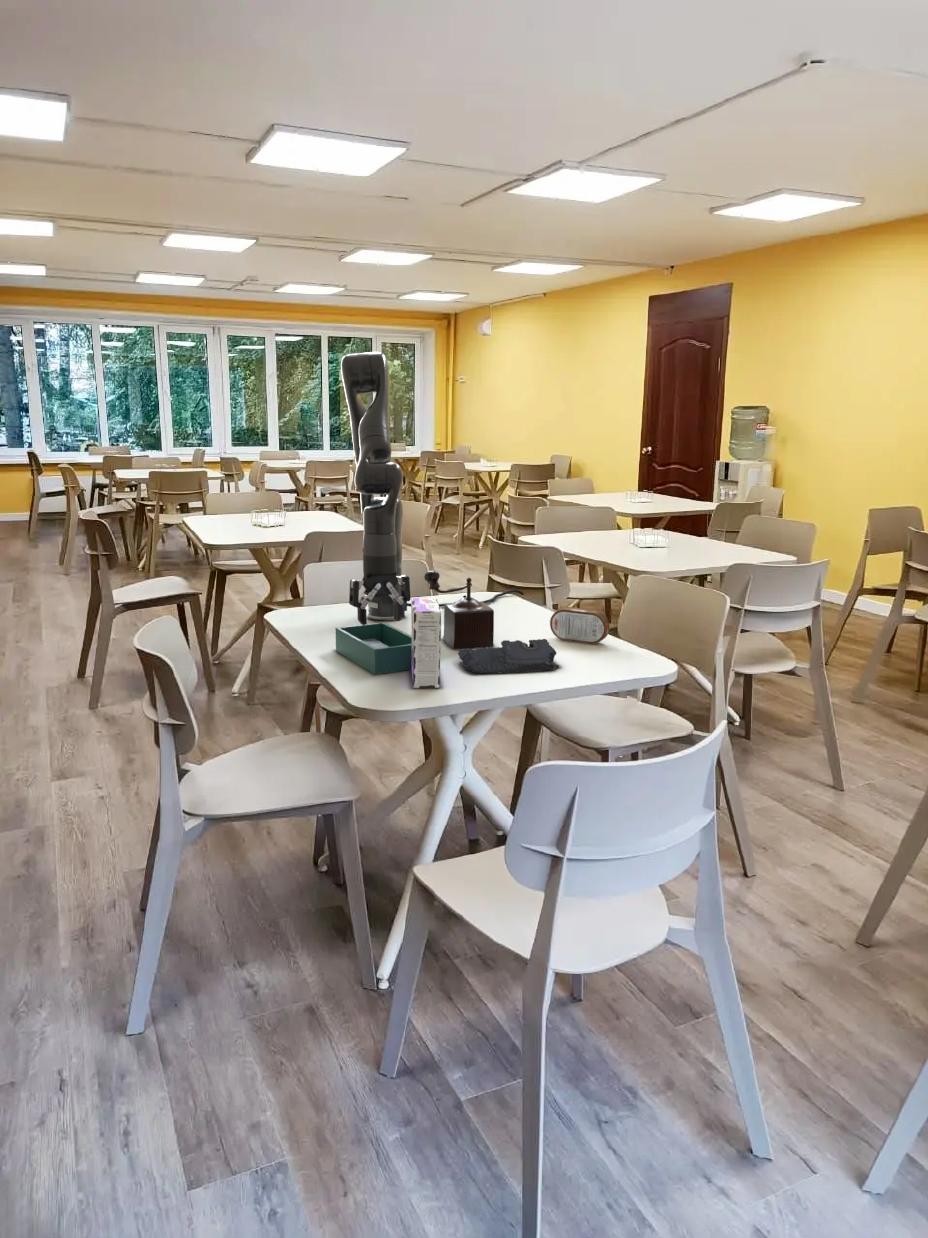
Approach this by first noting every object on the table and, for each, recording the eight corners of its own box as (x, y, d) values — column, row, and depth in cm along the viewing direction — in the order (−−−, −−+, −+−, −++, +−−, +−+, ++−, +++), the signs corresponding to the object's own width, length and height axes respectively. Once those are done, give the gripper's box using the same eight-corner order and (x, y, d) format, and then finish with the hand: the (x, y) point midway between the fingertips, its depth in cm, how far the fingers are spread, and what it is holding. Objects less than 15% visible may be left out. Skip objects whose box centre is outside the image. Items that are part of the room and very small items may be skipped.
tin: (609, 643, 221) (610, 610, 219) (605, 646, 218) (607, 613, 216) (552, 636, 227) (553, 604, 225) (547, 639, 224) (549, 606, 222)
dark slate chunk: (452, 657, 207) (452, 637, 205) (541, 652, 212) (542, 633, 211) (468, 675, 192) (469, 654, 191) (564, 670, 197) (565, 649, 196)
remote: (374, 647, 212) (374, 637, 212) (403, 663, 199) (403, 653, 198) (356, 649, 210) (356, 639, 210) (385, 665, 197) (385, 655, 196)
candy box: (410, 669, 196) (410, 596, 192) (437, 669, 196) (438, 596, 193) (412, 688, 183) (412, 610, 179) (440, 688, 183) (441, 610, 179)
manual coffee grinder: (481, 636, 226) (482, 566, 222) (494, 647, 216) (496, 574, 212) (422, 639, 222) (422, 568, 218) (432, 650, 212) (433, 576, 208)
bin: (384, 644, 217) (383, 622, 216) (426, 667, 198) (426, 643, 197) (335, 650, 211) (335, 627, 210) (374, 674, 192) (374, 649, 191)
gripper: (357, 557, 192) (358, 629, 196) (415, 552, 199) (415, 622, 203) (343, 552, 199) (345, 622, 203) (400, 547, 206) (401, 615, 210)
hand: (380, 622), depth 203 cm, fingers open, 8 cm apart
